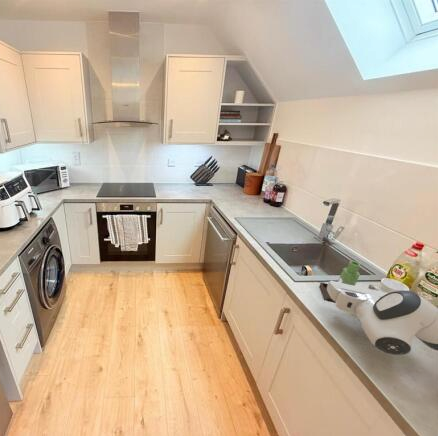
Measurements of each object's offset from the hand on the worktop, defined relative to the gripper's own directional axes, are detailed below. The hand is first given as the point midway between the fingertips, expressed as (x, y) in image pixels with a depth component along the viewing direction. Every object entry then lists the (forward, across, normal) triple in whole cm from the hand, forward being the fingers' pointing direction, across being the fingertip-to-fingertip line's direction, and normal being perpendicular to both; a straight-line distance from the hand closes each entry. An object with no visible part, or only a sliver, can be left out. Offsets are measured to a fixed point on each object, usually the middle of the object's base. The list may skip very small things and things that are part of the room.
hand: (355, 283), depth 89 cm
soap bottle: (+6, 0, +12) cm, 13 cm away
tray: (+6, 0, +13) cm, 14 cm away
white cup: (+10, -16, +13) cm, 22 cm away
